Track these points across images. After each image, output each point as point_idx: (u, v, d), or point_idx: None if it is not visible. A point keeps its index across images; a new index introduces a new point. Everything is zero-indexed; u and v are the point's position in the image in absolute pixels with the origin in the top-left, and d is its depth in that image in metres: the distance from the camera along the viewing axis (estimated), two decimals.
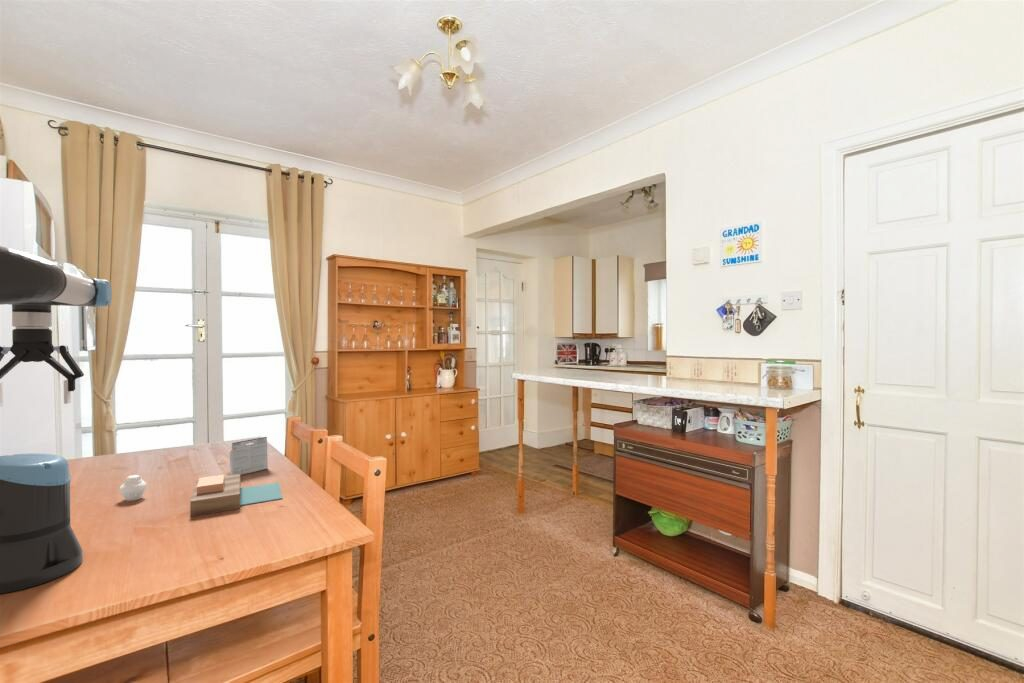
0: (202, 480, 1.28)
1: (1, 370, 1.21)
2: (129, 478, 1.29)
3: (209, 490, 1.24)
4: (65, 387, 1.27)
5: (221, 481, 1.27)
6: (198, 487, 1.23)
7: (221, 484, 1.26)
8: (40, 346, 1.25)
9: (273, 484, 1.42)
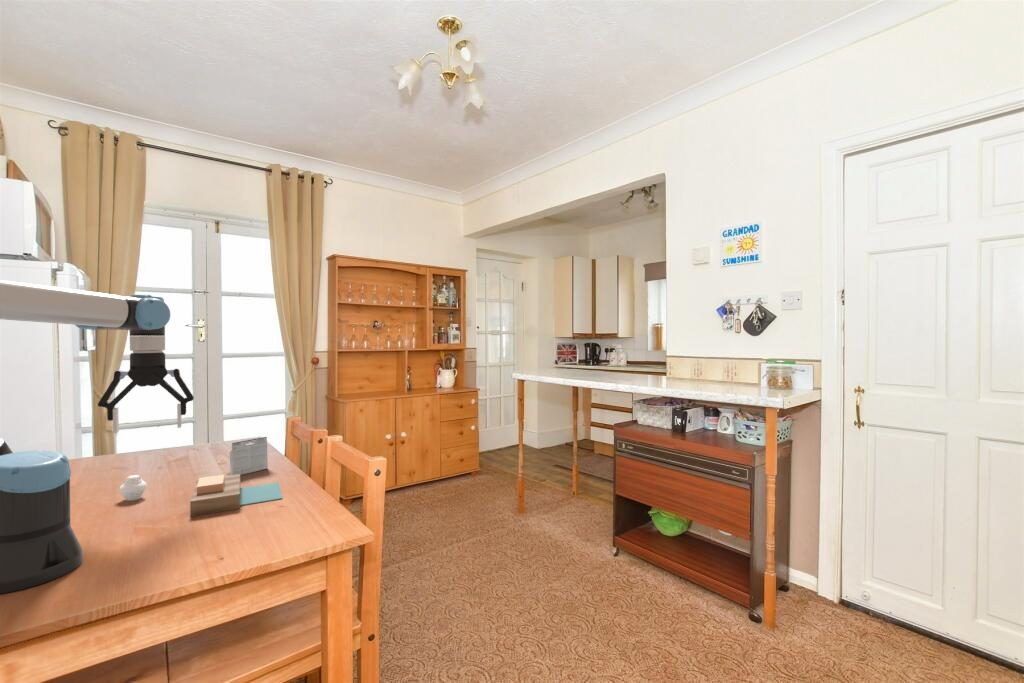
0: (202, 480, 1.28)
1: (119, 395, 1.19)
2: (129, 478, 1.29)
3: (209, 490, 1.24)
4: (179, 411, 1.26)
5: (221, 481, 1.27)
6: (198, 487, 1.23)
7: (221, 484, 1.26)
8: (156, 370, 1.23)
9: (273, 484, 1.42)
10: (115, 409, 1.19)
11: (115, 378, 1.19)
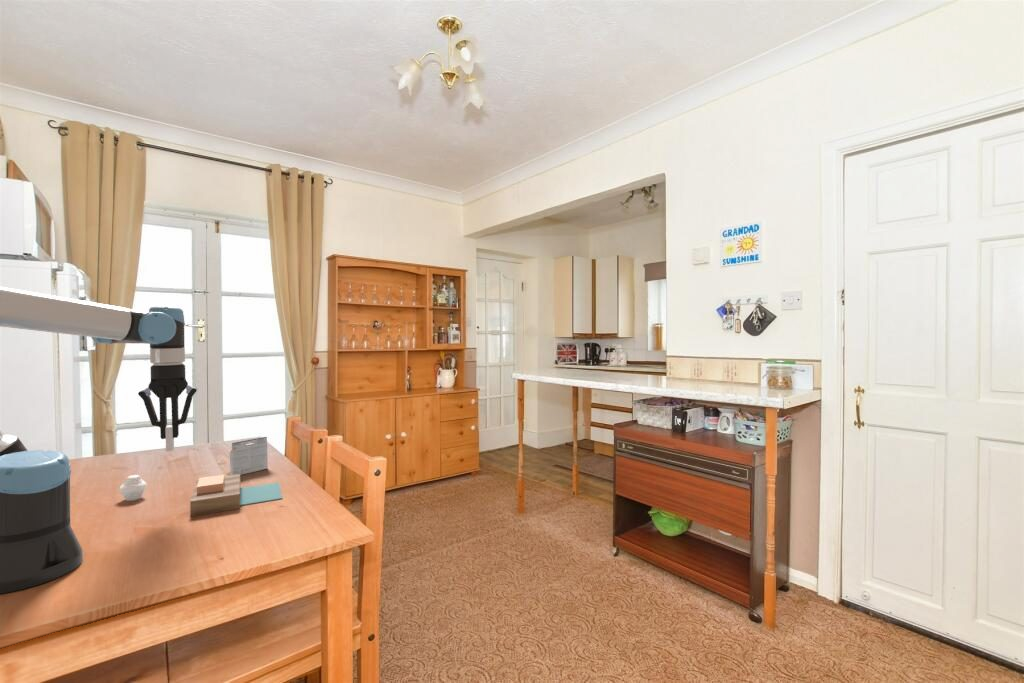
0: (202, 480, 1.28)
1: (161, 412, 1.21)
2: (129, 478, 1.29)
3: (209, 490, 1.24)
4: (170, 434, 1.22)
5: (221, 481, 1.27)
6: (198, 487, 1.23)
7: (221, 484, 1.26)
8: (179, 379, 1.23)
9: (273, 484, 1.42)
10: (167, 428, 1.22)
11: (144, 398, 1.19)
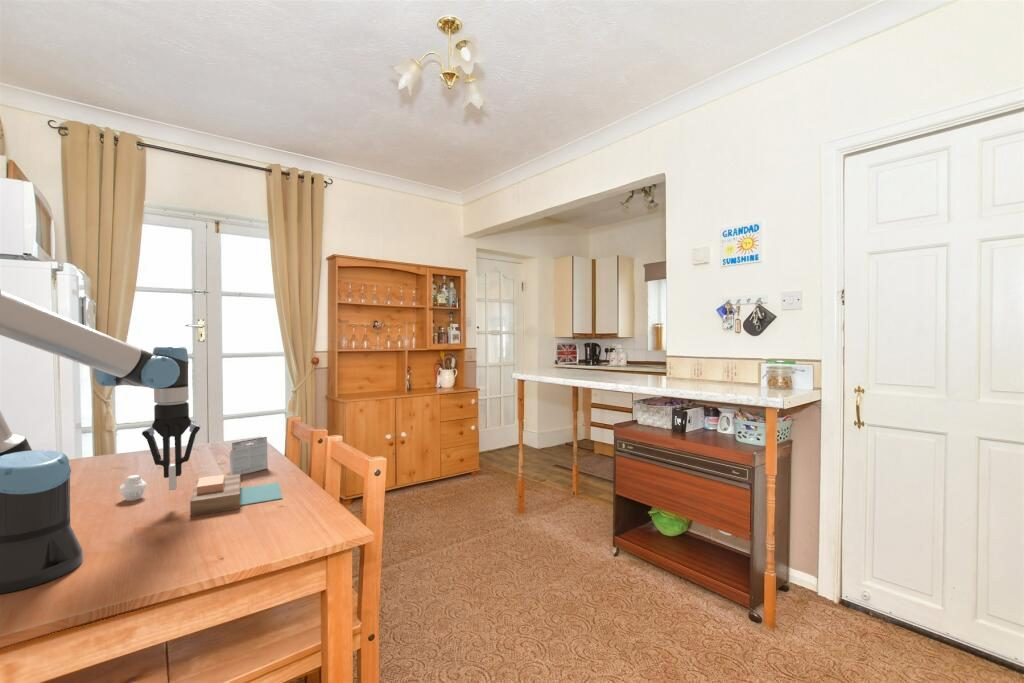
0: (202, 480, 1.28)
1: (165, 451, 1.22)
2: (129, 478, 1.29)
3: (209, 490, 1.24)
4: (173, 473, 1.23)
5: (221, 481, 1.27)
6: (198, 487, 1.23)
7: (221, 484, 1.26)
8: (183, 418, 1.24)
9: (273, 484, 1.42)
10: (171, 467, 1.23)
11: (147, 438, 1.20)
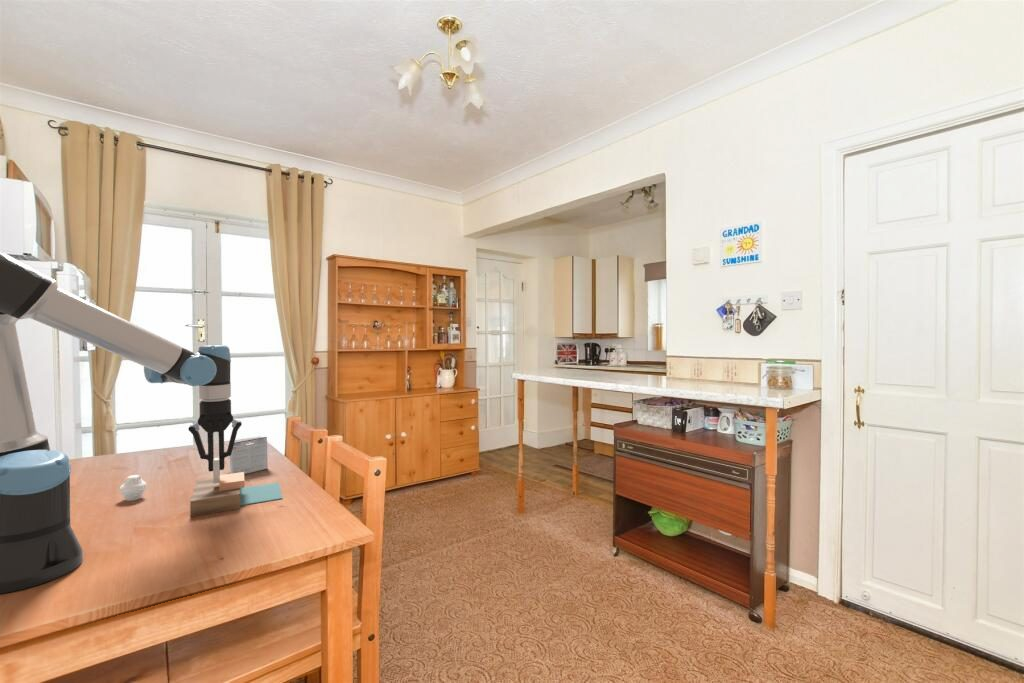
0: (223, 477, 1.31)
1: (209, 446, 1.27)
2: (129, 478, 1.29)
3: (231, 487, 1.27)
4: (217, 466, 1.28)
5: (242, 478, 1.30)
6: (220, 484, 1.26)
7: (242, 481, 1.28)
8: (226, 414, 1.29)
9: (273, 484, 1.42)
10: (215, 461, 1.28)
11: (193, 433, 1.25)
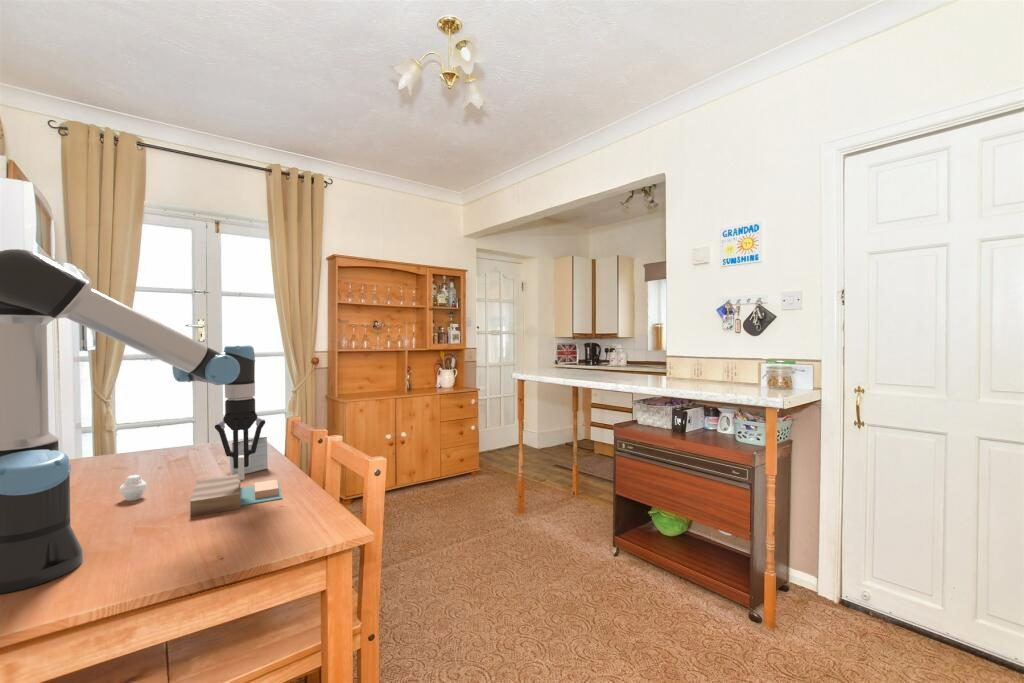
0: None
1: (234, 444, 1.30)
2: (129, 478, 1.29)
3: (267, 491, 1.31)
4: (242, 464, 1.31)
5: None
6: (277, 494, 1.33)
7: (256, 497, 1.30)
8: (250, 413, 1.32)
9: None
10: (240, 458, 1.31)
11: (219, 431, 1.28)
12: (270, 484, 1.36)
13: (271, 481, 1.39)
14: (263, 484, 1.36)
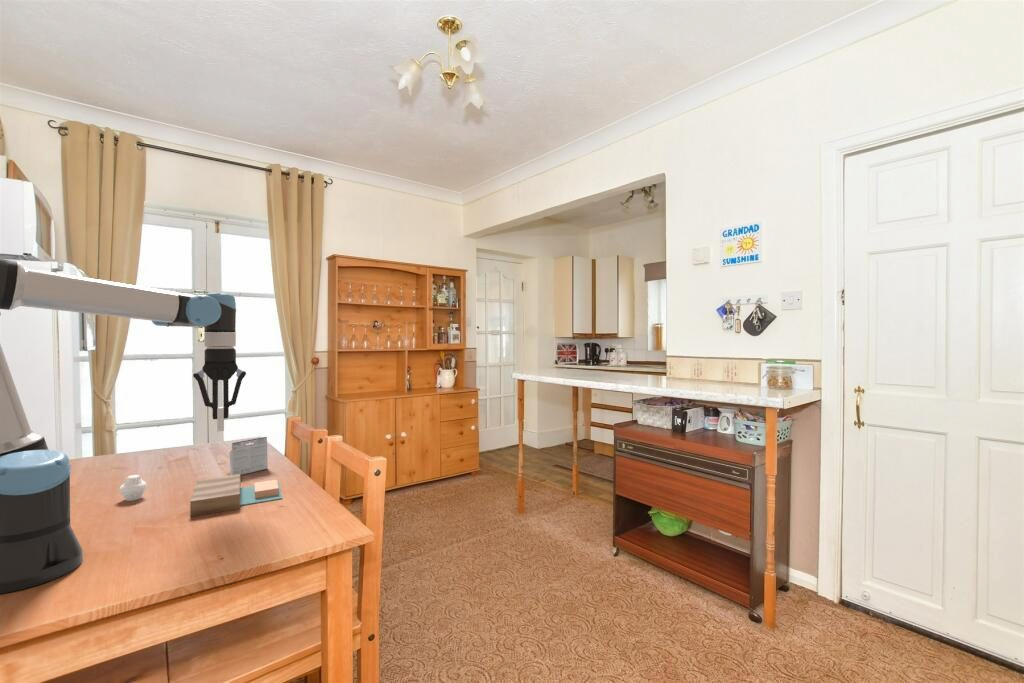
0: None
1: (214, 394, 1.27)
2: (129, 478, 1.29)
3: (267, 491, 1.31)
4: (221, 414, 1.28)
5: None
6: (277, 494, 1.33)
7: (256, 497, 1.30)
8: (230, 363, 1.29)
9: None
10: (219, 409, 1.28)
11: (198, 379, 1.25)
12: (270, 484, 1.36)
13: (271, 481, 1.39)
14: (263, 484, 1.36)
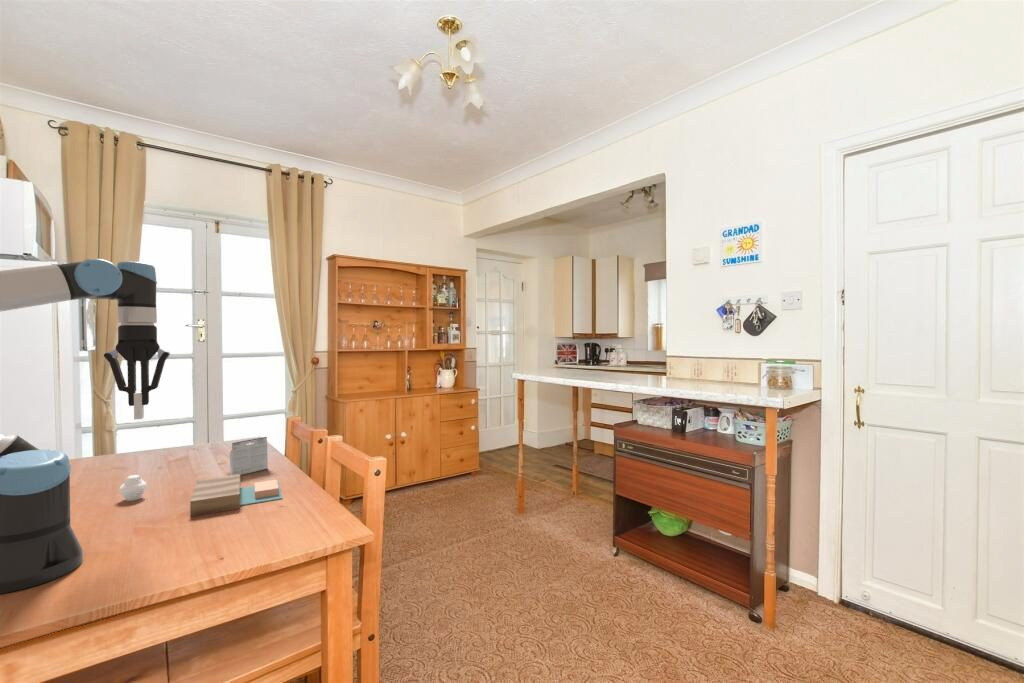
0: None
1: (129, 377, 1.12)
2: (129, 478, 1.29)
3: (267, 491, 1.31)
4: (139, 400, 1.13)
5: None
6: (277, 494, 1.33)
7: (256, 497, 1.30)
8: (150, 342, 1.14)
9: None
10: (136, 394, 1.12)
11: (110, 360, 1.10)
12: (270, 484, 1.36)
13: (271, 481, 1.39)
14: (263, 484, 1.36)
